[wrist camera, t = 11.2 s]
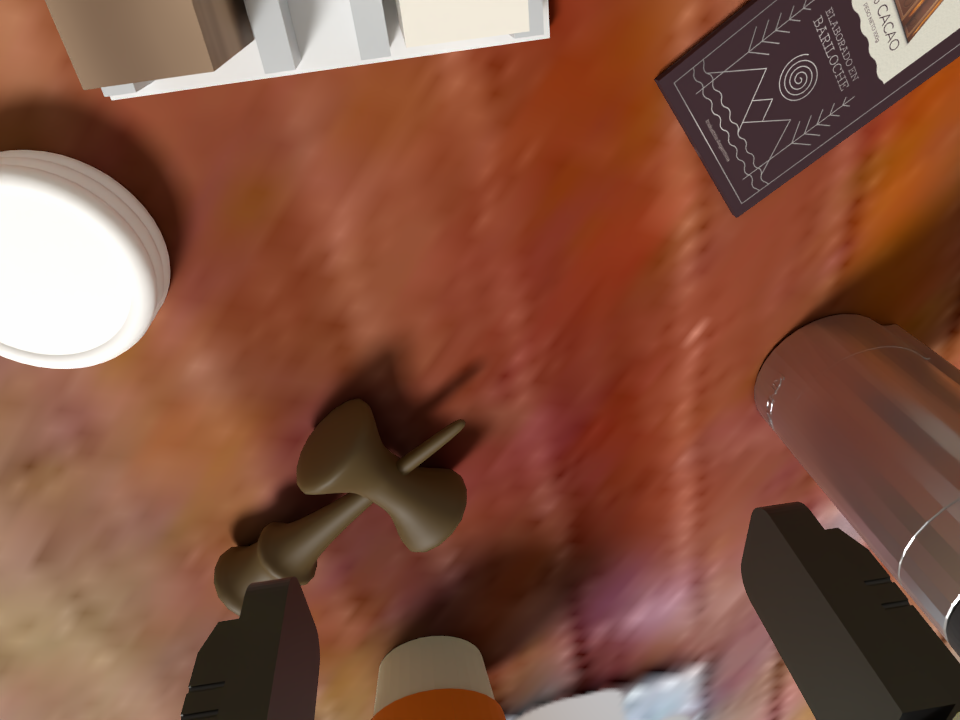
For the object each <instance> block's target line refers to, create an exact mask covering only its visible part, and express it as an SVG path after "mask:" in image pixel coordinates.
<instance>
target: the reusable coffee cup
mask: <svg viewBox="0 0 960 720" xmlns="http://www.w3.org/2000/svg"><path fill="white" fill-rule="evenodd" d="M371 720H506V719H505V715H504V712H503V710H502V708H501V706H500V705H499V704H498V703H497V702H496V701H495V699H494V696H493V693H492V689H491V686H490V682H489V679H488V675H487V672H486V668H485V665H484V661H483V658H482V655H481V653H480V651H479V650H478V649H477V648H476V646H475V645H473V644H471V643H470V642H468V641H466V640H463V639H461V638H456V637H451V636H429V637H423V638H418V639H415V640H412V641H409V642H406V643H404V644H402V645H400V646H398V647H397V648H395V649H393V650H392V651H391V652H390V653H388V654H387V655H386V656H385V658H384V659H383V660H382V662H381V665H380V667H379V674H378V682H377V690H376V698H375V706H374V714H373V718H372V719H371Z"/></svg>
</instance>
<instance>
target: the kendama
mask: <svg viewBox="0 0 960 720" xmlns="http://www.w3.org/2000/svg"><path fill="white" fill-rule="evenodd" d="M464 426H465V421H464V420H457V421H455V422H453V423H451V424H450V425H448V426H447V427H445V428H443V429H442V430H440V431H439V432H437V433H436V434H435V435H433V436H432V437H430V438H429V439H427V440H426V441H425V442H423V443H422V444H420V445H419V446H417V447H416V448H415V449H413V450H412V451H410V452H409V453H408V454H406V455H405V456H403V457H402V458H399V457H397V456H396V455H394V454H393V453H392V452H390V451H389V450H388V448H386V447H385V446H384V445H383V443H382V441H381V439H380V436H379V433H378V430H377V426H376V423H375V420H374V416H373V413H372V410H371V408H370V406H369V405H368V404H367V403H365V402H364V401H363V400H361V399H359V398H357V399H353V400H350V401H347V402H345V403H343V404H342V405H340V406H338V407H337V408H335V409H334V410H332V411H331V412H330V413H329V414H328V415H327V416H326V417H325V418H324V419H323V420H322V421H321V422H320V423H319V424H318V425H317V427H316V428H315V429H314V431H313V432H312V433H311V435H310V436H309V437H308V439H307V441H306V443H305V445H304V447H303V449H302V451H301V454H300V458H299V461H298V465H297V485H298V486H299V488H300V489H301V490H302V492H304V493H305V494H309V495H317V494H330V493H348V494H346V495H344V496H343V497H341V498H339V499H338V500H336V501H334V502H332V503H330V504H329V505H327V506H325V507H323V508H321V509H319V510H317V511H316V512H314V513H312V514H310V515H308V516H306V517H304V518H301V519H299V520H297V521H294V522H292V523H288V524H286V523H283V522H271V523H270V524H269V525H267V526H266V527H265V528H263V530H262V532H261V534H260V537H259V539H258V542H256V543H255V544H253V545H251V546H249V547H247V546H240V547H231V548H230V549H228V550H227V551H226V552H225V553H223V554H222V555H221V556H220V558H219V560H218V562H217V564H216V567H215V573H214V584H215V588H216V591H217V594H218V597H219V598H220V600H221V601H222V602H223V603H224V604H225V606H226V607H227V608H228V609H229V610H231V611H232V612H234V613H235V614H237V615H238V616H240V613H241V609H242V604H243V600H244V596H245V592H246V589H247V587H248V586H249V585H250V584H251V583H255V582H262V581H268V580H275V579H281V578H288V577H296V578H297V579H298V581H299V583H300V585H306V584H307V583H308V582H309V581H310V580H311V579H312V578H313V577H314V575H315V571H316V567H317V559H318V557H319V556H320V555H321V553H322V552H323V551H324V550H325V549H326V548H327V547H328V545H329V544H330V543H331V542H332V541H333V540H334V539H335V538H336V537H337V536H338V535H339V534H340V533H341V532H342V531H343V530H344V529H345V528H346V527H347V526H348V525H349V524H350V523H351V522H352V521H353V520H354V519H356V518H357V517H358V516H359V515H360V514H361V513H362V512H363V511H364V510H365V509H366V508H368V507H369V506H370V505H371V504H372V503H373V502H374V503H375V504H377V505H379V506H380V507H381V508H383V509H384V510H385V511H386V512H387V513H389V515H390V516H391V518H392V520H393V522H394V524H395V527H396V529H397V531H398V534H399V536H400V538H401V540H402V542H403V543H404V544H405V545H406V546H407V547H408V549H409V550H410V551H412V552H427V551H429V550H431V549H433V548H435V547H437V546H439V545H440V544H441V543H442V542H443V541H445V540H446V539H447V538H448V537H449V536H450V535H451V534H452V533H453V531H454V530H455V529H456V527H457V526H458V524H459V523H460V521H461V520H462V517H463V513H464V510H465V507H466V499H467V489H466V487H465V484H464V481H463V479H462V477H461V476H460V475H459V474H457V473H456V472H454V471H453V470H451V469H444V468H424V467H417V466H419V465H420V464H421V463H422V462H424V461H425V460H426V459H427V458H429V457H430V456H431V455H432V454H434V453H435V452H436V451H437V450H439V449H440V448H441V447H442V446H444V445H445V444H446V443H447V442H449V441H450V440H451V439H452V438H453V437H454V436H456V435H457V434H458V433H459V432H460V431H461V430H462V429H463V427H464Z"/></svg>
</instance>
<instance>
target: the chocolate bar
mask: <svg viewBox="0 0 960 720" xmlns="http://www.w3.org/2000/svg"><path fill="white" fill-rule="evenodd" d="M959 56H960V0H751V1H749V2H748V3H747V4H746V5H745V6H743V7H742V8H741V9H740V10H738V11H737V12H736V13H735V14H734V15H732V16H731V17H730V18H729V19H727V20H726V21H725V22H724V23H723V24H721V25H720V26H719V27H718V28H716V29H715V30H714V31H713V32H712V33H710V34H709V35H708V36H707V37H705V38H704V39H703V40H702V41H701V42H699V43H698V44H697V45H696V46H694V47H693V48H692V49H691V50H690V51H688V52H687V53H686V54H685V55H684V56H682V57H681V58H680V59H679V60H677V61H676V62H675V63H674V64H673V65H671V66H670V67H669V68H668V69H666V70H665V71H664V72H663V73H662V74H660V75H659V76H658V77H657V78H655V79H654V80H655V82H656V83H657V85H658V87H659V89H660V90H661V92H662V94H663V95H664V97H665V99H666V101H667V102H668V104H669V106H670V108H671V109H672V111H673V113H674V114H675V116H676V118H677V120H678V121H679V123H680V125H681V127H682V128H683V130H684V132H685V133H686V135H687V137H688V139H689V140H690V142H691V144H692V146H693V147H694V149H695V151H696V152H697V154H698V156H699V158H700V159H701V161H702V163H703V165H704V166H705V168H706V170H707V171H708V173H709V175H710V177H711V178H712V180H713V182H714V184H715V185H716V187H717V189H718V190H719V192H720V194H721V196H722V197H723V199H724V201H725V203H726V204H727V206H728V208H729V209H730V211H731V213H732V215H734V216H735V217H736V218H737V217H739V216H740V215H742V214H743V213H744V212H746V211H747V210H748V209H750V208H751V207H753V206H754V205H755V204H757V203H758V202H759V201H761V200H762V199H764V198H765V197H766V196H768V195H769V194H770V193H772V192H773V191H775V190H776V189H777V188H779V187H780V186H781V185H783V184H784V183H786V182H787V181H788V180H790V179H791V178H792V177H794V176H795V175H797V174H798V173H799V172H801V171H802V170H803V169H805V168H806V167H808V166H809V165H810V164H812V163H813V162H814V161H816V160H817V159H819V158H820V157H821V156H823V155H824V154H825V153H827V152H828V151H830V150H831V149H832V148H834V147H835V146H836V145H838V144H839V143H841V142H842V141H843V140H845V139H846V138H848V137H849V136H850V135H852V134H853V133H854V132H856V131H857V130H859V129H860V128H861V127H863V126H864V125H865V124H867V123H868V122H870V121H871V120H872V119H874V118H875V117H876V116H878V115H879V114H881V113H882V112H883V111H885V110H886V109H887V108H889V107H890V106H892V105H893V104H894V103H896V102H897V101H898V100H900V99H901V98H903V97H904V96H905V95H907V94H908V93H909V92H911V91H912V90H914V89H915V88H916V87H918V86H919V85H920V84H922V83H923V82H925V81H926V80H927V79H929V78H930V77H931V76H933V75H934V74H936V73H937V72H938V71H940V70H941V69H942V68H944V67H945V66H947V65H948V64H949V63H951V62H952V61H954V60H955V59H956V58H958V57H959Z"/></svg>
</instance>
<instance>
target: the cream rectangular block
mask: <svg viewBox="0 0 960 720" xmlns="http://www.w3.org/2000/svg"><path fill="white" fill-rule="evenodd" d="M395 3H396V9H397V16H398V22H399V26H400V29H401V32H402V35H403V39H404V42H405V45H406V48H408V47H416V46H423V45H431V44H438V43H446V42H453V41H461V40H468V39H476V38H484V37H491V36H499V35H506V34H514V33H521V32H529V31H530V29H529V10H528V0H395Z"/></svg>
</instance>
